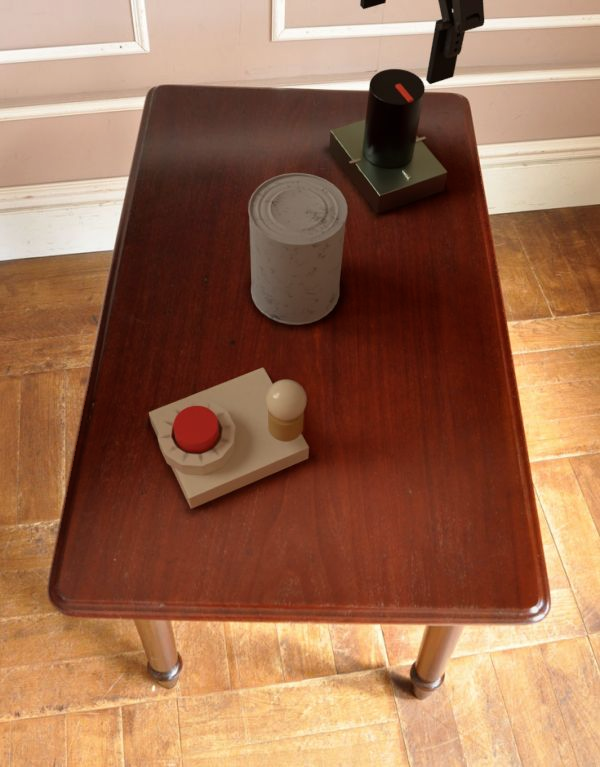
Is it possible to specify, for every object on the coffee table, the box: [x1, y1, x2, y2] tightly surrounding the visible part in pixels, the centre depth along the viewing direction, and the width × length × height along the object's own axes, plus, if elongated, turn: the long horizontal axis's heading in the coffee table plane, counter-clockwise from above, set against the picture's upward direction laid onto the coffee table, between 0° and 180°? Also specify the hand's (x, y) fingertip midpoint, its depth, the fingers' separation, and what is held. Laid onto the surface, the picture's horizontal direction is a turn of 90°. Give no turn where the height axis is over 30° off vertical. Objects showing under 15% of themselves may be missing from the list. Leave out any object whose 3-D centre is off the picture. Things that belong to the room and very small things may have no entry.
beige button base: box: [148, 367, 310, 509], centre depth 80 cm, size 10×12×4 cm
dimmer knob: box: [363, 68, 426, 168], centre depth 97 cm, size 6×6×9 cm
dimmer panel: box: [328, 118, 448, 215], centre depth 102 cm, size 12×10×3 cm
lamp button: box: [173, 406, 219, 453], centre depth 78 cm, size 4×4×2 cm
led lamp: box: [265, 378, 308, 442], centre depth 76 cm, size 4×4×6 cm
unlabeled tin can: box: [247, 172, 348, 326], centre depth 87 cm, size 10×10×12 cm
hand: (404, 40), depth 88 cm, fingers open, 13 cm apart
